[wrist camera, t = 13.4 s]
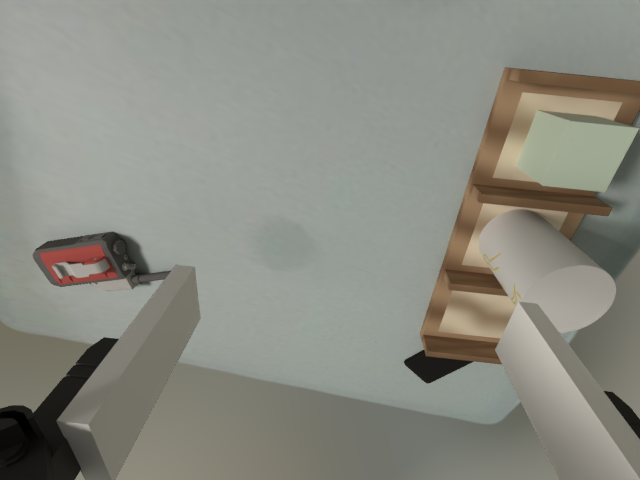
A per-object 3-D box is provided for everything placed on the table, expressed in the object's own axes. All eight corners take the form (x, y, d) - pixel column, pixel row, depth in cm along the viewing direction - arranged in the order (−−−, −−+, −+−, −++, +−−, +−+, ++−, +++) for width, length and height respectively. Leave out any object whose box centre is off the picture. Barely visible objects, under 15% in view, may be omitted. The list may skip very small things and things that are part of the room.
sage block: (537, 110, 35) (570, 121, 30) (595, 115, 35) (639, 128, 30) (515, 166, 38) (542, 185, 33) (569, 172, 38) (605, 192, 33)
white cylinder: (464, 240, 43) (503, 302, 33) (522, 195, 40) (585, 248, 29) (503, 276, 45) (551, 345, 35) (561, 237, 42) (633, 300, 32)
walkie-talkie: (70, 288, 53) (189, 274, 50) (49, 307, 49) (177, 293, 47) (38, 240, 49) (166, 221, 46) (12, 257, 45) (150, 237, 42)
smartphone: (509, 344, 52) (427, 385, 58) (507, 340, 53) (426, 380, 59) (486, 319, 50) (402, 363, 56) (484, 315, 51) (402, 359, 56)
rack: (505, 67, 35) (525, 70, 31) (643, 81, 34) (681, 85, 31) (420, 333, 53) (426, 356, 49) (510, 343, 53) (523, 366, 49)
